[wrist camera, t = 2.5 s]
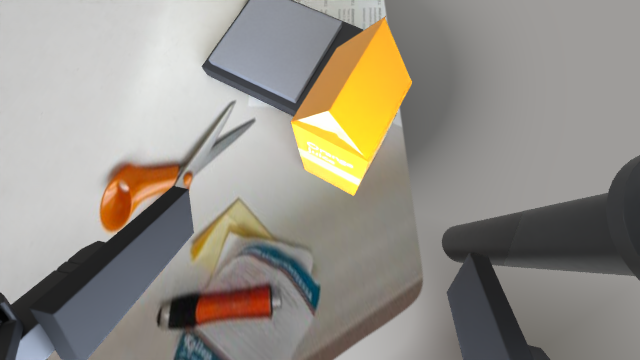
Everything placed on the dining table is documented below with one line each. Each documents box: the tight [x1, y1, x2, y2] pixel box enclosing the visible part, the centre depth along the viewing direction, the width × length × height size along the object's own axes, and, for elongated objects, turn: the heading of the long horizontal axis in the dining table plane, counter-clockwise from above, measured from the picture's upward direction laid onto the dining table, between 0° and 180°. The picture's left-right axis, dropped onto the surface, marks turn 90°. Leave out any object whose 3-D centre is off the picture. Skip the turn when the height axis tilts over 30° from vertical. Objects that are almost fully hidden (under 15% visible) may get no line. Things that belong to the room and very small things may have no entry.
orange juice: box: [291, 16, 412, 195], centre depth 30 cm, size 8×9×20 cm
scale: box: [202, 0, 363, 116], centre depth 42 cm, size 18×16×3 cm
